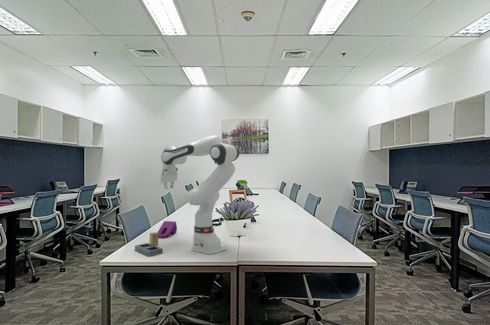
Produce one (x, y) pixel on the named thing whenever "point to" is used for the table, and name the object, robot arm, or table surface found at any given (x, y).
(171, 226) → the mounting bracket
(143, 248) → the gray slotted block
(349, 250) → the table surface
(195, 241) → the robot arm
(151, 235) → the bronze block
